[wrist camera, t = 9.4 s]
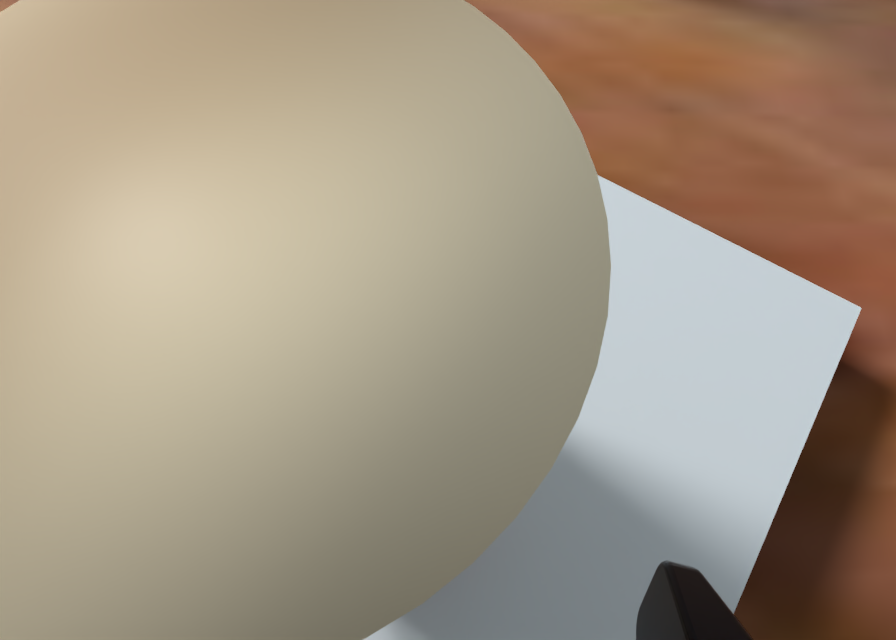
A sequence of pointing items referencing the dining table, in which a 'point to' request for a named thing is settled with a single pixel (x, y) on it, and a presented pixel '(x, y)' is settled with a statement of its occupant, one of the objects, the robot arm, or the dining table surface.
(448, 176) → the maple leg
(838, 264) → the dining table surface
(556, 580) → the grey board
